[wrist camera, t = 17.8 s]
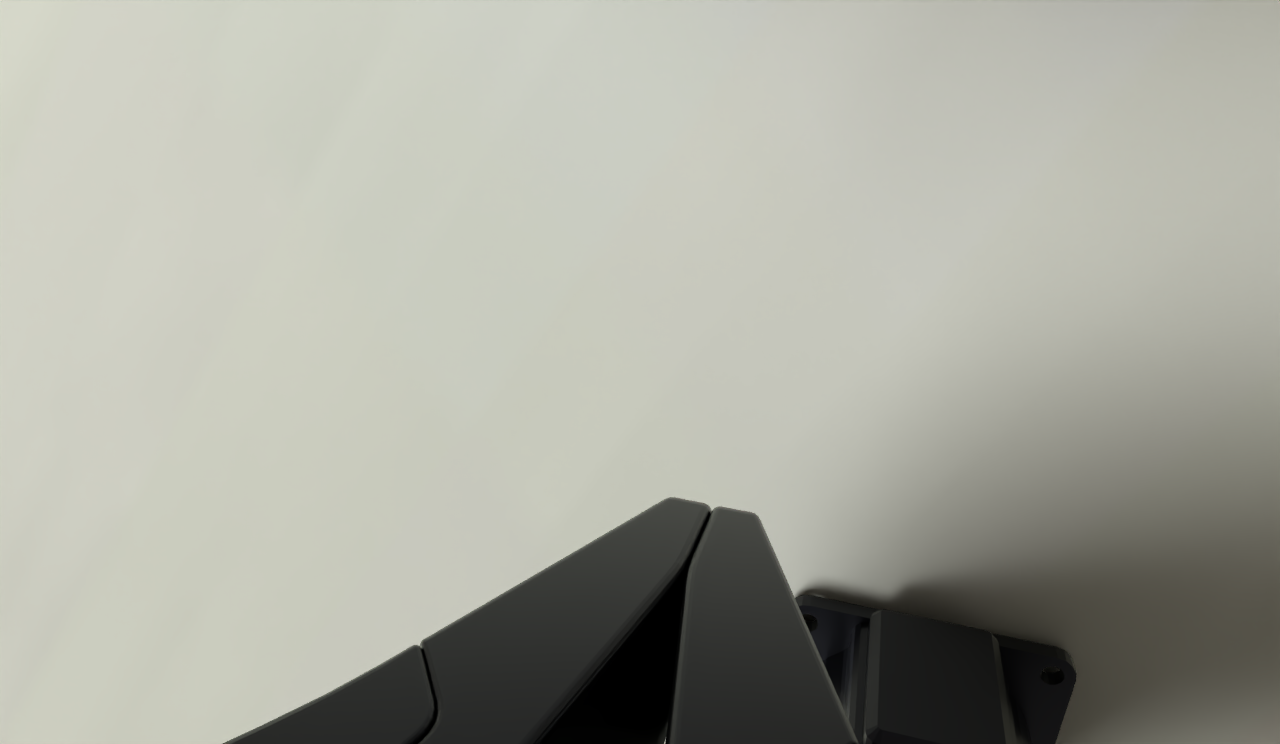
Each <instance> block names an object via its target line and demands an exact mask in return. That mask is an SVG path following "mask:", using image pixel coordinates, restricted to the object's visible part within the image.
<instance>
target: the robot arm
mask: <svg viewBox="0 0 1280 744" xmlns="http://www.w3.org/2000/svg"><path fill="white" fill-rule="evenodd" d="M802 614H810V615H812V616H814V617H815V618H816V620H814V621H805V620H804V618H803V616H802ZM1047 667H1057V668H1060V670H1059V671H1057V672H1055V673H1046V672H1044V671H1042V670H1043V669H1044V668H1047ZM1075 682H1076V670H1075V666H1074V662H1073V660H1072V658H1071V656H1070V655H1069V654H1068V653H1067V652H1066V651H1065V650H1063V649H1060V648H1058V647H1054V646H1050V645H1045V644H1040V643H1035V642H1031V641H1026V640H1021V639H1016V638H1011V637H1007V636H1002V635H997V634H992V633H990V632H989V631H985V630H981V629H976V628H971V627H966V626H962V625H957V624H952V623H947V622H943V621H938V620H933V619H928V618H923V617H919V616H914V615H909V614H904V613H900V612H895V611H890V610H884V609H883V610H878V609H873V608H868V607H864V606H859V605H854V604H849V603H845V602H840V601H835V600H830V599H825V598H821V597H816V596H809V595H803V596H799V597H796V598H794V595H793V593H792V591H791V589H790V586H789V584H788V582H787V580H786V577H785V575H784V573H783V570H782V568H781V566H780V564H779V561H778V559H777V557H776V555H775V552H774V550H773V548H772V546H771V543H770V541H769V539H768V536H767V534H766V532H765V530H764V527H763V525H762V523H761V521H760V519H759V517H758V516H757V515H756V514H755V513H752V512H747V511H741V510H736V509H731V508H726V507H716V508H714V510H713V511H711V508H710V507H709V506H708V505H707V504H705V503H700V502H695V501H690V500H685V499H680V498H675V497H670V498H667V499H664V500H663V501H661V502H659V503H658V504H656V505H654V506H652V507H651V508H649V509H647V510H646V511H644V512H642V513H640V514H639V515H637V516H635V517H634V518H632V519H630V520H628V521H627V522H625V523H623V524H621V525H620V526H618V527H616V528H615V529H613V530H611V531H609V532H608V533H606V534H604V535H603V536H601V537H599V538H597V539H596V540H594V541H592V542H591V543H589V544H587V545H585V546H584V547H582V548H580V549H579V550H577V551H575V552H573V553H572V554H570V555H568V556H566V557H565V558H563V559H561V560H560V561H558V562H556V563H554V564H553V565H551V566H549V567H548V568H546V569H544V570H542V571H541V572H539V573H537V574H536V575H534V576H532V577H530V578H529V579H527V580H525V581H524V582H522V583H520V584H518V585H517V586H515V587H513V588H511V589H510V590H508V591H506V592H505V593H503V594H501V595H499V596H498V597H496V598H494V599H493V600H491V601H489V602H487V603H486V604H484V605H482V606H481V607H479V608H477V609H475V610H474V611H472V612H470V613H469V614H467V615H465V616H463V617H462V618H460V619H458V620H456V621H455V622H453V623H451V624H450V625H448V626H446V627H444V628H443V629H441V630H439V631H438V632H436V633H434V634H432V635H431V636H429V637H427V638H426V639H424V640H422V642H421V644H420V646H418V645H413V646H411V647H409V648H408V649H406V650H404V651H403V652H401V653H399V654H397V655H396V656H394V657H392V658H390V659H389V660H387V661H385V662H384V663H382V664H380V665H378V666H376V667H375V668H373V669H371V670H369V671H367V672H366V673H364V674H362V675H360V676H358V677H356V678H355V679H353V680H351V681H349V682H347V683H345V684H344V685H342V686H340V687H338V688H336V689H334V690H333V691H331V692H329V693H327V694H325V695H323V696H321V697H319V698H317V699H315V700H313V701H311V702H309V703H307V704H305V705H303V706H301V707H299V708H297V709H294V710H292V711H290V712H288V713H286V714H284V715H282V716H280V717H278V718H276V719H274V720H272V721H270V722H268V723H266V724H264V725H262V726H260V727H257V728H255V729H253V730H251V731H249V732H247V733H244V734H242V735H240V736H238V737H236V738H234V739H231V740H229V741H227V742H225V743H223V744H664V742H665V739H666V743H665V744H1055V742H1056V739H1057V736H1058V733H1059V730H1060V727H1061V724H1062V721H1063V718H1064V715H1065V712H1066V709H1067V706H1068V703H1069V700H1070V697H1071V694H1072V691H1073V688H1074V685H1075Z"/></svg>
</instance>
